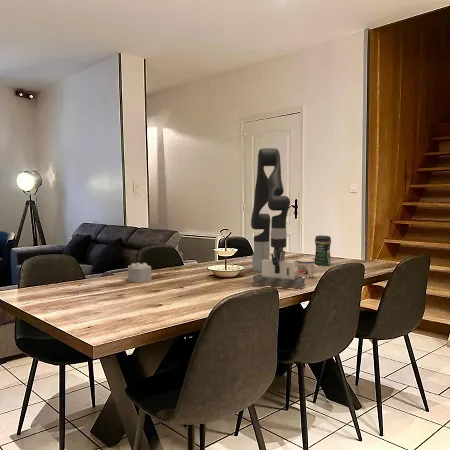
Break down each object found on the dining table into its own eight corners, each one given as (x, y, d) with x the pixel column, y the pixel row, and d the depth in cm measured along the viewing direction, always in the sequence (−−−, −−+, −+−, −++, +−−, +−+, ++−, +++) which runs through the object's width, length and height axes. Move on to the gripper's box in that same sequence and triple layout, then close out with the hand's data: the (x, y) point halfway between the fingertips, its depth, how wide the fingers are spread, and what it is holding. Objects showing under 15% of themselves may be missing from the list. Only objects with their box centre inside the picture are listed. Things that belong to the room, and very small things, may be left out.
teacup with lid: (293, 277, 241) (293, 255, 241) (302, 274, 248) (302, 253, 247) (313, 279, 234) (313, 257, 233) (321, 277, 240) (322, 255, 240)
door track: (252, 285, 219) (252, 276, 219) (259, 282, 227) (259, 273, 227) (299, 290, 208) (299, 281, 208) (305, 286, 216) (305, 277, 216)
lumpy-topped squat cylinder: (137, 283, 227) (136, 266, 227) (123, 279, 236) (122, 263, 236) (154, 280, 235) (153, 263, 234) (139, 276, 244) (139, 261, 243)
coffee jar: (312, 264, 281) (312, 235, 280) (319, 263, 287) (319, 234, 285) (326, 266, 274) (326, 236, 273) (332, 265, 280) (333, 235, 279)
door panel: (261, 282, 220) (261, 260, 219) (263, 281, 222) (263, 259, 222) (292, 285, 213) (292, 262, 212) (294, 284, 215) (294, 261, 214)
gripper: (276, 235, 224) (275, 270, 225) (266, 238, 211) (265, 274, 213) (290, 236, 221) (290, 271, 222) (281, 239, 208) (280, 275, 209)
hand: (278, 272), depth 217 cm, fingers closed on door panel, 2 cm apart
